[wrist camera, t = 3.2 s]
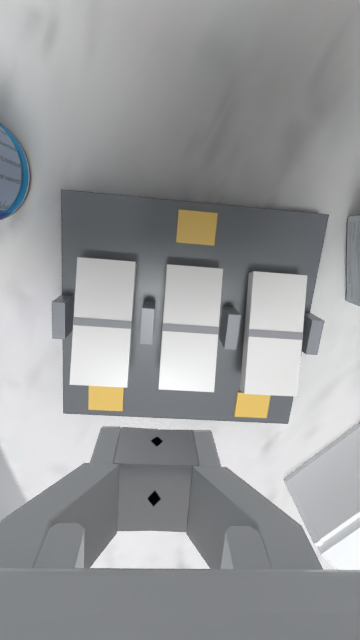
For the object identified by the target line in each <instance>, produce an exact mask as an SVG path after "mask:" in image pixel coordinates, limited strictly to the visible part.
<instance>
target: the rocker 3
mask: <svg viewBox="0 0 360 640" xmlns="http://www.w3.org/2000/svg"><path fill="white" fill-rule="evenodd" d="M306 287H307V275H295V274H282V273H270V272H257V271H253V272H250V273H249V277H248V290H247V304H246V317H245V330H244V344H243V357H242V370H241V384H240V390H241V391H242V392H243V393H244V394H256V395H275V396H294V397H298V388H299V376H300V363H301V350H302V340H303V325H304V312H305V300H306Z"/></svg>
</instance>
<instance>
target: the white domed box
mask: <svg viewBox="0 0 360 640" xmlns="http://www.w3.org/2000/svg"><path fill="white" fill-rule="evenodd" d="M284 479H285V481H286V482H285V484H286V486H287V488H288V490H289V493H290V495H291V497H292V499H293V501H294V503H295V505H296V507H297V509H298V511H299V513H300V516H301V518H302V520H303V522H304V524H305V526H306V528H307V530H308V532H309V534H310V536H311V539H312V541H313V543H314V544H315V545H316V546H317V547H318V550H319V552H320V554H321V555H322V556H323V557H324V558H325V559H326V560H327V561H328V562H329V563H330V564H331V565H333V566H334V567H335V568H336V569H337V570H360V422H359V423H358V424H356V425H355V426H354V427H352V428H351V429H350V430H348V431H347V432H346V433H344V434H343V435H342V436H340V437H339V438H338V439H336V440H335V441H334V442H332V443H331V444H330V445H328V446H327V447H325V448H324V449H323V450H321V451H320V452H319V453H317V454H316V455H315V456H313V457H312V458H311V459H309V460H308V461H307V462H305V463H304V464H303V465H301V466H300V467H299V468H297V469H296V470H295V471H293V472H292V473H291V474H289V475H288V476H287V477H285V478H284Z"/></svg>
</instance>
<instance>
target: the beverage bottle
mask: <svg viewBox="0 0 360 640" xmlns="http://www.w3.org/2000/svg"><path fill="white" fill-rule="evenodd" d="M29 178H30V175H29V166H28V162H27V159H26V156H25V153H24V151H23V149H22V147H21V145H20V144H19V142H18V141H17V139H16V138H15V137H14V136H13V134H12V133H11V132H10V131H9V130H8V129H7V128H5V127H4V126H3V125H2V124H0V220H1V219H4V218H6V217H8V216H9V215H11V214H12V213H14V212H15V211H16V210H17V209H18V208H19V207H20V205H21V204H22V202H23V201H24V199H25V197H26V194H27V191H28V187H29Z"/></svg>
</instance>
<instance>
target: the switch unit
mask: <svg viewBox="0 0 360 640" xmlns="http://www.w3.org/2000/svg"><path fill="white" fill-rule="evenodd" d="M328 216H329V215H327V214H316V213H306V212H295V211H284V210H274V209H263V208H252V207H242V206H231V205H220V204H210V203H199V202H188V201H178V200H167V199H157V198H146V197H135V196H125V195H114V194H103V193H93V192H82V191H71V190H61V227H62V295H61V296H60V297H58V298H57V299H55V300H54V301H52V338H54V339H63V413H66V414H87V415H109V416H130V417H152V418H173V419H195V420H217V421H238V422H260V423H281V424H288V422H289V417H290V411H291V406H292V401H293V396H275V395H256V394H244V393H243V392H242V391H241V390H240V384H241V370H242V357H243V344H244V330H245V317H246V304H247V290H248V277H249V273H250V272H253V271H257V272H270V273H282V274H295V275H307V287H306V300H305V312H304V325H303V340H302V350H301V355H302V351H303V352H304V353H305V354H311V355H317V353H318V348H319V344H320V339H321V334H322V329H323V324H324V321H323V320H322V319H320V318H318V317H316V316H315V315H313V314H311V313H310V309H311V304H312V298H313V293H314V288H315V283H316V278H317V273H318V268H319V262H320V257H321V252H322V247H323V242H324V237H325V232H326V227H327V221H328ZM77 257H82V258H95V259H107V260H120V261H132V262H136V264H137V265H136V280H135V295H134V310H133V325H132V340H131V355H130V371H129V384H128V387H127V388H123V387H104V386H85V385H69V384H70V368H71V352H72V336H73V317H74V303H75V287H76V271H77ZM167 264H170V265H182V266H195V267H207V268H220V269H223V277H222V290H221V304H220V318H219V334H218V345H217V359H216V373H215V387H214V392H199V391H180V390H161V389H159V386H158V385H159V370H160V356H161V341H162V327H163V312H164V297H165V283H166V268H167Z"/></svg>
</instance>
